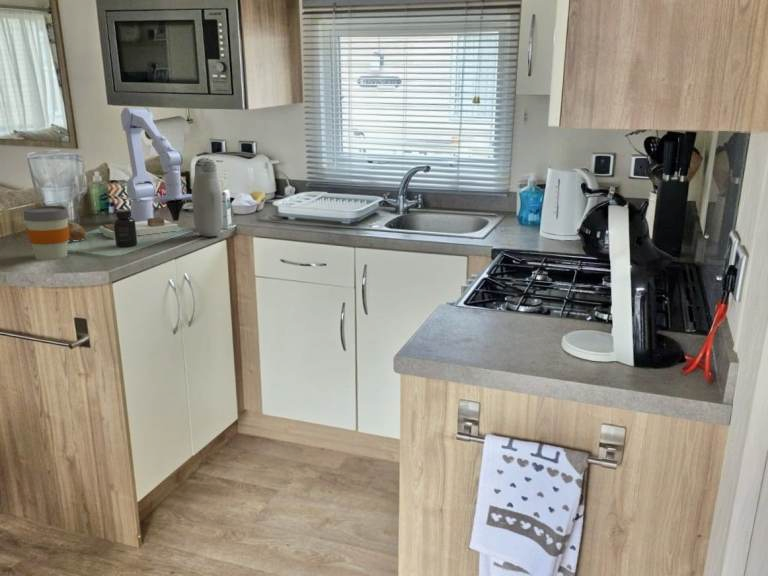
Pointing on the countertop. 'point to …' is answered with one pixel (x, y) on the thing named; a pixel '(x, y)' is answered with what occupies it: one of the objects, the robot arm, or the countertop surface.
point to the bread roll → (76, 232)
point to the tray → (110, 232)
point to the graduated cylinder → (226, 209)
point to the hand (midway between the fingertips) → (175, 220)
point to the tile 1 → (109, 226)
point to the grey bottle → (207, 198)
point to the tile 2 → (155, 222)
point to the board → (146, 229)
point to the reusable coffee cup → (48, 231)
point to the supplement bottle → (125, 229)
